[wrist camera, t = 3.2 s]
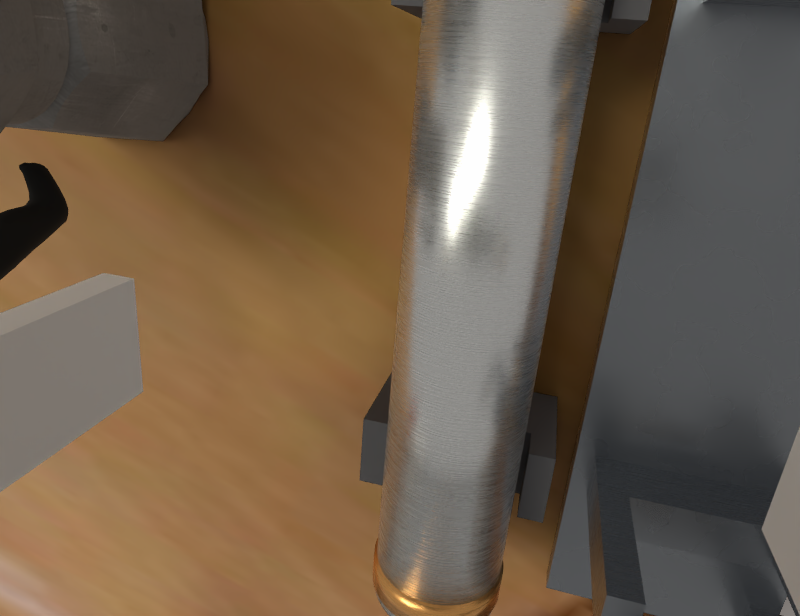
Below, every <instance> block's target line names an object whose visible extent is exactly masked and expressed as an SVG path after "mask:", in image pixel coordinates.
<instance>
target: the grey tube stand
mask: <svg viewBox="0 0 800 616" xmlns="http://www.w3.org/2000/svg"><path fill="white" fill-rule="evenodd" d="M799 427H800V0H673V4H672V9H671V13H670V18H669V22H668V27H667V31H666V36H665V40H664V45H663V49H662V54H661V58H660V63H659V68H658V72H657V77H656V81H655V86H654V90H653V95H652V99H651V104H650V108H649V113H648V117H647V122H646V126H645V131H644V135H643V140H642V145H641V149H640V154H639V158H638V163H637V167H636V172H635V176H634V181H633V185H632V190H631V194H630V199H629V203H628V208H627V212H626V217H625V222H624V226H623V231H622V235H621V240H620V244H619V249H618V253H617V258H616V262H615V267H614V271H613V276H612V280H611V285H610V289H609V294H608V299H607V303H606V308H605V312H604V317H603V321H602V326H601V330H600V335H599V339H598V344H597V348H596V353H595V357H594V362H593V367H592V371H591V376H590V380H589V385H588V389H587V394H586V398H585V403H584V407H583V412H582V416H581V421H580V425H579V430H578V434H577V439H576V444H575V448H574V453H573V457H572V462H571V466H570V471H569V475H568V480H567V484H566V489H565V493H564V498H563V502H562V507H561V511H560V516H559V521H558V525H557V530H556V534H555V539H554V543H553V548H552V552H551V557H550V561H549V566H548V570H547V586H546V588H550V589H554V590H558V591H562V592H566V593H570V594H573V595H577V596H581V597H585V598H589V599H592V604H593V616H643V613H648V614H652V615H656V616H781V615H779V614H780V612H781V609H782V607H783V604H784V602H785V600H786V597H788V599H789V601H790V604H791V606H792V608H793V610H794V612H795V615H796V616H800V615H799V613H798V610H797V608H796V606H795V604H794V601H793V599H792V597H791V595H790V592H789V590H788V588H787V586H786V583H785V581H784V579H783V577H782V574H781V572H780V570H779V568H778V565H777V563H776V561H775V558H774V556H773V554H772V552H771V549H770V547H769V545H768V543H767V540H766V538H765V536H764V534H763V531H762V526H763V524H764V521H765V518H766V516H767V513H768V510H769V508H770V505H771V502H772V500H773V497H774V494H775V491H776V489H777V486H778V483H779V481H780V478H781V475H782V473H783V470H784V467H785V465H786V462H787V459H788V456H789V454H790V451H791V448H792V446H793V443H794V440H795V438H796V435H797V432H798V430H799Z"/></svg>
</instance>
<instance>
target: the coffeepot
mask: <svg viewBox="0 0 800 616" xmlns="http://www.w3.org/2000/svg"><path fill="white" fill-rule="evenodd" d="M208 45H209V40H208V33H207V27H206V20H205V16H204V13H203V10H202V0H0V133H1V132H2V130H3V129H4V128H5V127H13V128H23V129H32V130H41V131H50V132H58V133H67V134H76V135H85V136H94V137H107V138H122V139H137V140H152V141H164V140H165V138H166V137H167V136H168V135H169V134H170V133H171V131H172V130H173V129H174V128H175V127H176V126H177V125H178V124H179V123H180V122H181V121H182V120H183V119H184V118H185V117H186V116H187V115H188V114H189V112H190V111H191V109H192V107H193V106H194V104H195V103H196V101H197V100H198V98H199V95H200V94H201V93H202V92H203V90H204V89H205V88H206V87H207V85H208ZM19 168H20V170H21V171H22V173H23V175H24V178H25V181H26V184H27V187H28V190H29V201H28V203H27V204H26V205H25V206H23V207H18V208H14V209H11V210H7V211H5V212H2V213H0V280H1V279H2V278H3V277H4V276H5V275H6V274H8V273H9V272H10V271H11V270H12V269H14V268H15V267H16V266H17V265H18V264H19V263H20V262H21V261H22V260H23V259H24V258H25V257H27V256H28V255H29V254H30V253H31V252H32V251H33V250H34V249H35V248H36V247H38V246H39V245H40V244H41V243H43V242H44V241H45V240H46V239H47V238H48V237H49V236H50V235H51V234H53V233H54V232H55V231H56V230H57V229H58V228H59V227H60V226H61V225H62V224H63V223H65V222H66V221H67V217H68V207H67V204H66V201H65V198H64V196H63V194H62V192H61V191H60V189H59V187H58V185H57V184H56V182H55V180H54V179H53V177H52V175H51V174H50V172H49V171H48V169H47V168H46V167H45V166H43V165H41V164H37V163H23V164H21V165H19Z"/></svg>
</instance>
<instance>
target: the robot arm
mask: <svg viewBox="0 0 800 616" xmlns="http://www.w3.org/2000/svg"><path fill="white" fill-rule="evenodd" d="M142 392H143V384H142V371H141V359H140V347H139V334H138V322H137V310H136V297H135V285H134V278H128V277H123V276H117V275H112V274H106V273H102V274H100V275H97V276H94V277H92V278H89V279H87V280H84V281H82V282H79V283H76V284H74V285H71V286H69V287H66V288H64V289H61V290H58V291H56V292H53V293H51V294H48V295H46V296H43V297H40V298H38V299H35V300H33V301H30V302H28V303H25V304H22V305H20V306H17V307H15V308H12V309H10V310H7V311H4V312H2V313H0V492H1V491H2V490H4V489H5V488H7V487H8V486H9V485H11V484H12V483H14V482H15V481H17V480H18V479H19V478H21V477H22V476H24V475H25V474H27V473H28V472H29V471H31V470H32V469H34V468H35V467H36V466H38V465H39V464H41V463H42V462H44V461H45V460H46V459H48V458H49V457H51V456H52V455H54V454H55V453H56V452H58V451H59V450H61V449H62V448H63V447H65V446H66V445H68V444H69V443H71V442H72V441H73V440H75V439H76V438H78V437H79V436H81V435H82V434H83V433H85V432H86V431H88V430H89V429H90V428H92V427H93V426H95V425H96V424H98V423H99V422H100V421H102V420H103V419H105V418H106V417H107V416H109V415H110V414H112V413H113V412H115V411H116V410H117V409H119V408H120V407H122V406H123V405H125V404H126V403H127V402H129V401H130V400H132V399H133V398H134V397H136V396H137V395H139V394H140V393H142ZM762 531H763V534H764V536H765V538H766V540H767V543H768V545H769V547H770V549H771V552H772V554H773V556H774V558H775V561H776V563H777V565H778V568H779V570H780V572H781V574H782V577H783V579H784V581H785V583H786V586H787V588H788V590H789V592H790V595H791V597H792V599H793V601H794V604H795V606H796V608H797V610H798V613H799V615H800V427H799V430H798V432H797V435H796V438H795V440H794V443H793V446H792V448H791V451H790V454H789V456H788V459H787V462H786V465H785V467H784V470H783V473H782V475H781V478H780V481H779V483H778V486H777V489H776V491H775V494H774V497H773V500H772V502H771V505H770V508H769V510H768V513H767V516H766V518H765V521H764V524H763V526H762Z"/></svg>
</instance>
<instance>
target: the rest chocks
mask: <svg viewBox="0 0 800 616" xmlns="http://www.w3.org/2000/svg"><path fill="white" fill-rule="evenodd" d="M651 2H652V0H605V3H604V8H603V14H602V19H601V25H600V30H599V32H608V33H623V34H631V33H632V32H634V31H635V30H636V29H637V28H639V27H640V26H641V25H643V24H644V23H645V22H646V21H648V17H649V12H650V7H651ZM391 5H393V6H395V7H397V8H400V9H402V10H404V11H406V12H408V13H410V14H413V15H415V16H417V17H419V18H421V19H422V8H423V0H391ZM391 379H392V373H391V374H390V376H389V378H388V379H387V381H386V383H385V384H384V386H383V388H382V389H381V391H380V393H379V394H378V396H377V398H376V399H375V401H374V403H373V404H372V406H371V408H370V409H369V411H368V413H367V414H366V416H365V418H364V423H363V438H362V453H361V468H360V480H361V481H365V482H370V483H374V484H378V485H383V475H384V463H385V451H386V439H387V427H388V415H389V403H390V391H391ZM556 435H557V397H556V396H550V395H545V394H540V393H534V392H533V396H532V401H531V407H530V412H529V418H528V423H527V429H526V434H525V440H524V445H523V450H522V456H521V461H520V467H519V472H518V478H517V483H516V489H515V493H519V494H520V496H519V506H518V515H517V517H520V518H524V519H528V520H533V521H537V522H541V523H543V519H544V514H545V509H546V505H547V500H548V495H549V490H550V485H551V481H552V476H553V471H554V466H555V462H556Z"/></svg>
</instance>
